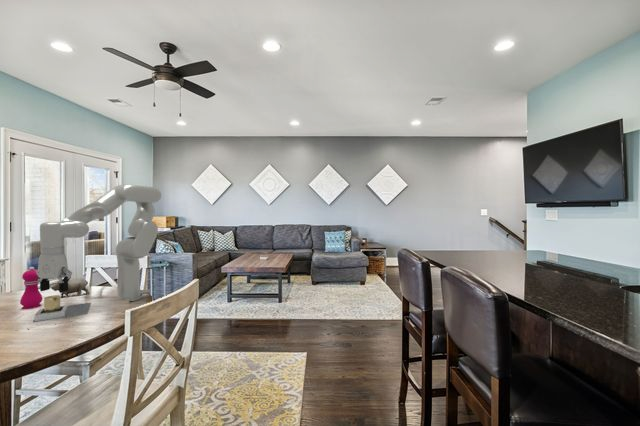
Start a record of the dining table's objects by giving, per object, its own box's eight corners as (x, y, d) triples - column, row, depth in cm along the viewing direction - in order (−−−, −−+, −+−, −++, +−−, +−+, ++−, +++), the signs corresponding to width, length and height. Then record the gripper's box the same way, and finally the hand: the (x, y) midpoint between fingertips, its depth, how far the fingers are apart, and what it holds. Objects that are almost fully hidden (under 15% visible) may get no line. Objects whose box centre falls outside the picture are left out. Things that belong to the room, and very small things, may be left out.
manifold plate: (91, 305, 137) (91, 297, 137) (87, 317, 122) (87, 308, 122) (42, 312, 127) (43, 303, 127) (32, 326, 112) (32, 316, 112)
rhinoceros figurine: (92, 291, 151) (72, 270, 148) (64, 309, 145) (43, 287, 142) (96, 289, 158) (76, 268, 155) (69, 306, 152) (49, 285, 149)
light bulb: (61, 312, 123) (61, 294, 123) (59, 316, 119) (59, 297, 118) (45, 315, 120) (45, 296, 120) (42, 318, 116) (42, 299, 116)
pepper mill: (27, 313, 125) (28, 268, 125) (15, 312, 127) (15, 267, 127) (46, 307, 133) (46, 265, 132) (34, 306, 134) (35, 264, 134)
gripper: (26, 252, 117) (27, 292, 117) (60, 253, 114) (61, 295, 114) (46, 249, 124) (47, 287, 125) (79, 250, 121) (80, 289, 122)
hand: (54, 290), depth 120 cm, fingers open, 9 cm apart
